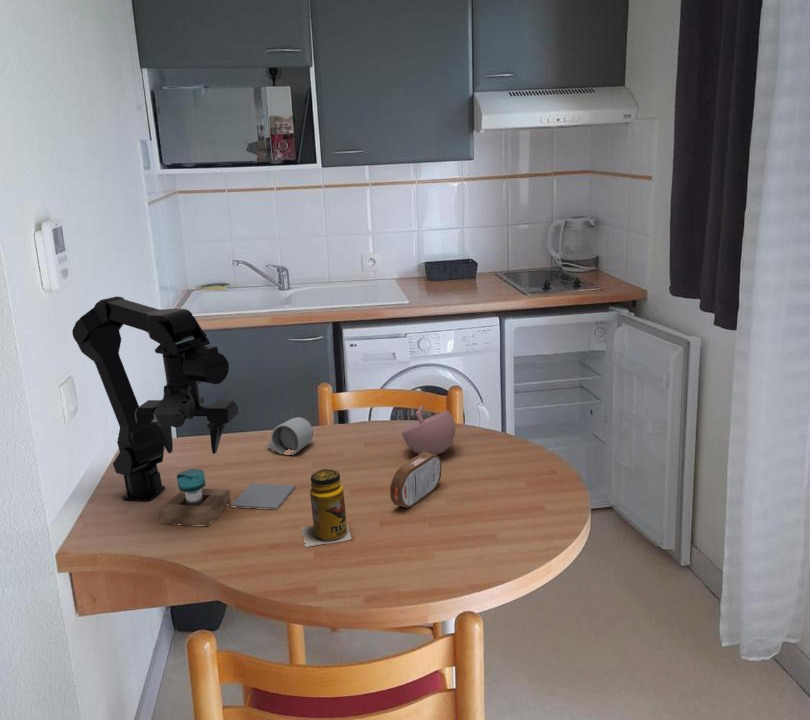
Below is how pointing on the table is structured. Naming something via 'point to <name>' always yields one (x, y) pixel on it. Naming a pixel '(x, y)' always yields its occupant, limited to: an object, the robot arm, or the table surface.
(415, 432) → the mortar and pestle
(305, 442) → the ceramic mug
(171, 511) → the eye block
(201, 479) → the teal topped white bottle
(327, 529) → the condiment
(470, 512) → the table surface
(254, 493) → the slate mat
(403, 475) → the tin
